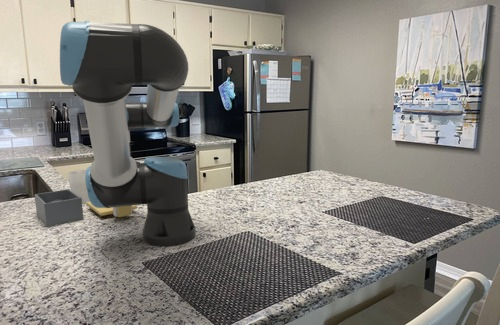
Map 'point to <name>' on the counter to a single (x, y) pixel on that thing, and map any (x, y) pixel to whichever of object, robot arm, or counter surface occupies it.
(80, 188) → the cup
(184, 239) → the robot arm
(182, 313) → the counter surface
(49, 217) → the tub
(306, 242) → the counter surface
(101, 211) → the lid
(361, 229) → the counter surface
